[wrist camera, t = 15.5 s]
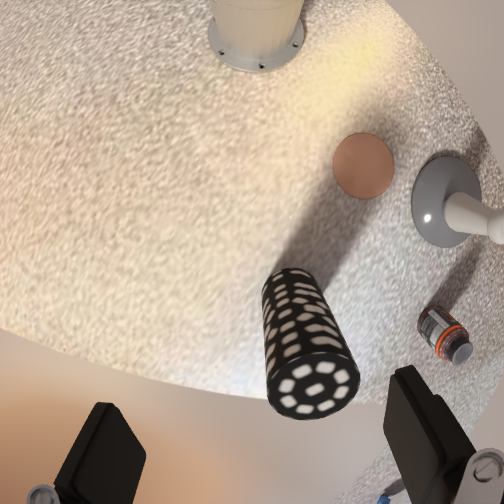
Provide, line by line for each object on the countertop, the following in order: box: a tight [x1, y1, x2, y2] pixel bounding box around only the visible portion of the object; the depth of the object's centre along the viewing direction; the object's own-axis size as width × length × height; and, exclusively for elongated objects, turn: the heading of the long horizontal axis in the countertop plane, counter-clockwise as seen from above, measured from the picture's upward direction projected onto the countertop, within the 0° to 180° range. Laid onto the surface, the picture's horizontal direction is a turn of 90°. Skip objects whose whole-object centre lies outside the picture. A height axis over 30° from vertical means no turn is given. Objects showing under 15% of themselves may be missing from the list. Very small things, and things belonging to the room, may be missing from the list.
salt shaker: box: [442, 192, 504, 244], centre depth 32 cm, size 6×6×13 cm
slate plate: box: [411, 156, 482, 248], centre depth 39 cm, size 14×14×1 cm
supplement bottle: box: [417, 306, 473, 366], centre depth 39 cm, size 6×6×11 cm
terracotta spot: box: [333, 133, 394, 199], centre depth 38 cm, size 9×9×1 cm
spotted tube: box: [262, 268, 361, 420], centre depth 34 cm, size 8×8×20 cm
